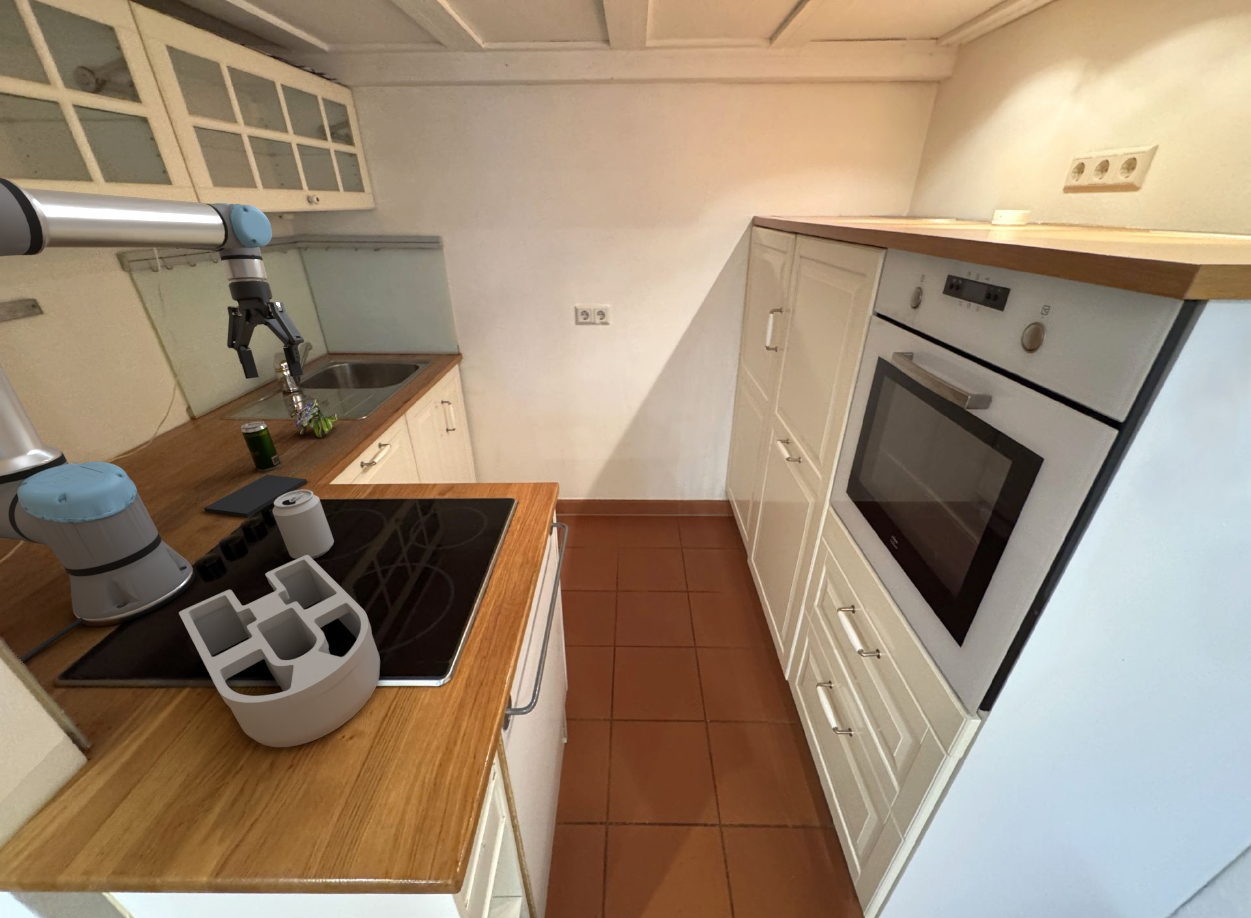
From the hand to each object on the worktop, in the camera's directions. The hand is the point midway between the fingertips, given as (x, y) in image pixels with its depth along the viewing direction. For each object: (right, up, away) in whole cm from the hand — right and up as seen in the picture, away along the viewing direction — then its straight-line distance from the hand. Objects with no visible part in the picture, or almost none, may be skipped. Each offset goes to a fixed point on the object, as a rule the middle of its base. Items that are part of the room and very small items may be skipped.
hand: (274, 377), depth 117 cm
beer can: (-10, -22, +12) cm, 27 cm away
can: (+23, -37, -21) cm, 48 cm away
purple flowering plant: (-10, -11, +34) cm, 37 cm away
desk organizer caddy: (+37, -49, -47) cm, 78 cm away
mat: (-3, -28, -1) cm, 28 cm away
